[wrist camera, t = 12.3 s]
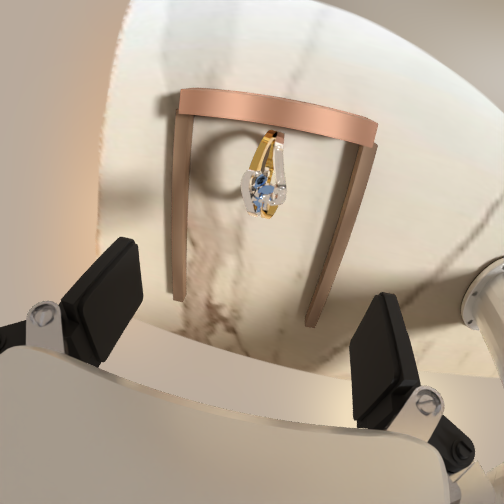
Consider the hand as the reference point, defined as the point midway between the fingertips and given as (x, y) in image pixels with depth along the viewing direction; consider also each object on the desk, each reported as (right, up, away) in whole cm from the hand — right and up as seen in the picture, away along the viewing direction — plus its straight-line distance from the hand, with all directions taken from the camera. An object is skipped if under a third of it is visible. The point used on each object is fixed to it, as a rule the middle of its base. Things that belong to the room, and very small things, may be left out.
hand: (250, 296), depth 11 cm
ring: (+2, +10, +15) cm, 18 cm away
